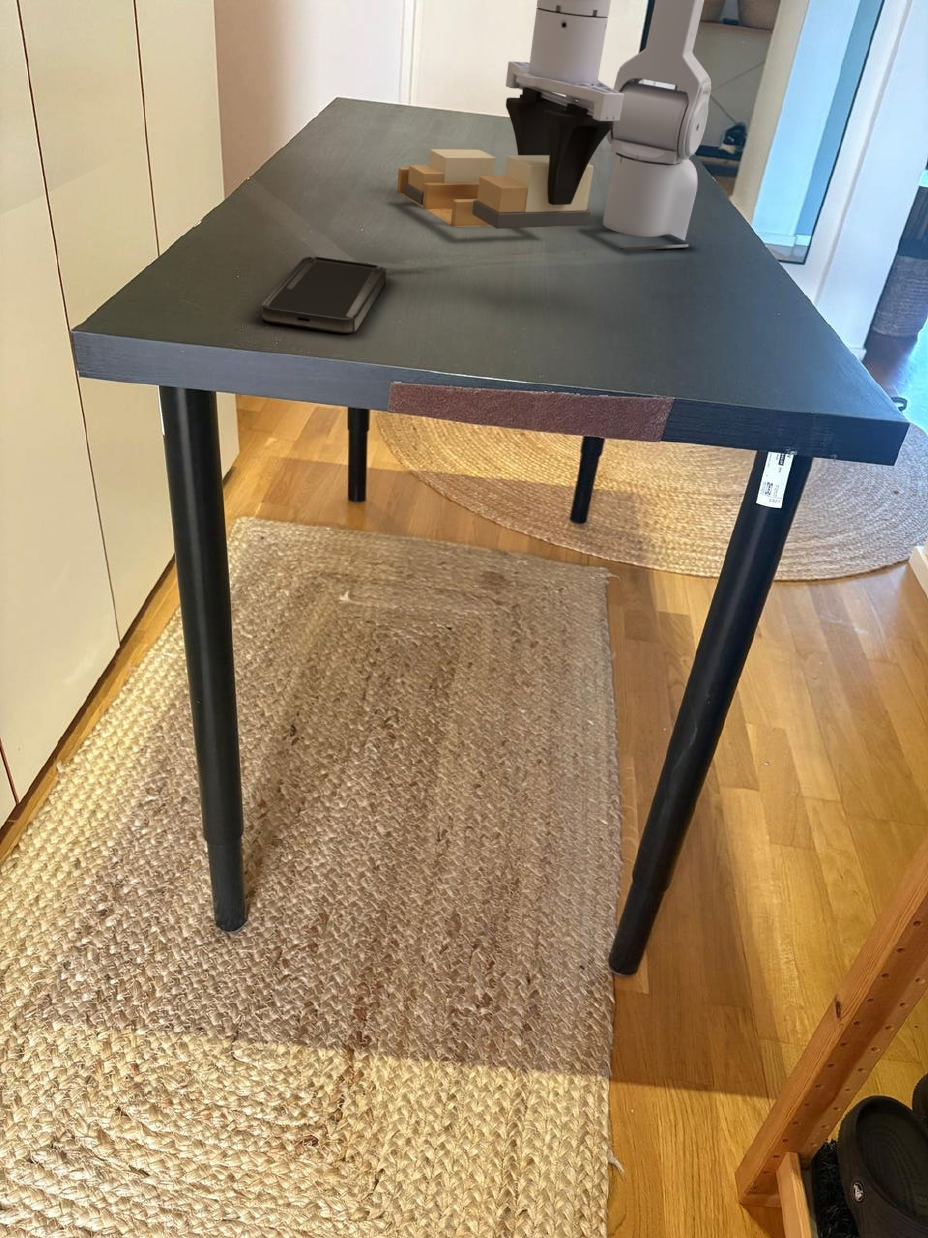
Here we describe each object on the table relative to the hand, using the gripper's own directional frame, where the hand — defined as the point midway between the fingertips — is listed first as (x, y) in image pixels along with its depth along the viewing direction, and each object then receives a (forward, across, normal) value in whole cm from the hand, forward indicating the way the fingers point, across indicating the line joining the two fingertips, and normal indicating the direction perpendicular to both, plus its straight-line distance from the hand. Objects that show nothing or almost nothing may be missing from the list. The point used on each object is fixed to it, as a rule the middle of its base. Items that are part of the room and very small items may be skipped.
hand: (545, 196), depth 81 cm
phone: (+9, -3, -19) cm, 21 cm away
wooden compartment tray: (+9, -25, +6) cm, 27 cm away
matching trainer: (+7, -28, +6) cm, 30 cm away
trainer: (+2, 0, -1) cm, 2 cm away
